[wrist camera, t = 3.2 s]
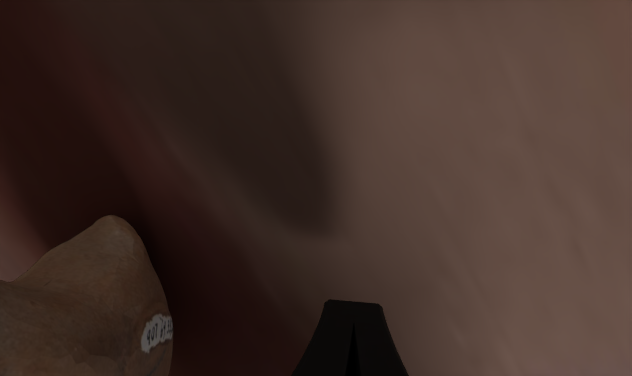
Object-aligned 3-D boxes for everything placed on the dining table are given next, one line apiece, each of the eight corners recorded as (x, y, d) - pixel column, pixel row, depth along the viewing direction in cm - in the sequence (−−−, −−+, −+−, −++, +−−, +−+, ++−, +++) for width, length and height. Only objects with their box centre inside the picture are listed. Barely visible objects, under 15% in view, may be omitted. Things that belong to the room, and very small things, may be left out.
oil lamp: (22, 109, 14) (-336, 319, 7) (173, 113, 13) (-37, 338, 6) (91, 360, 18) (-85, 651, 11) (207, 367, 18) (102, 672, 11)
